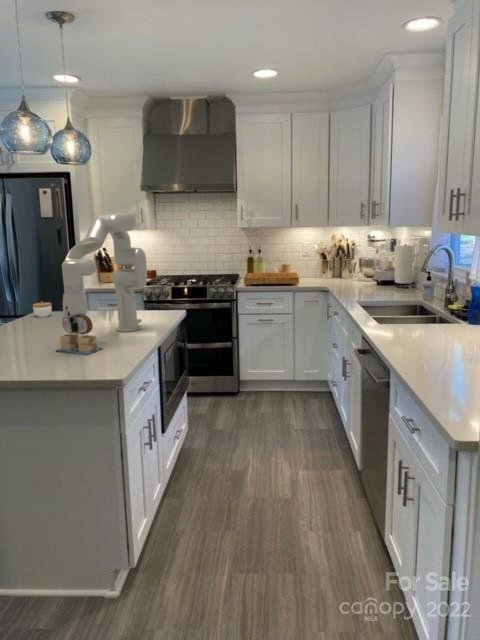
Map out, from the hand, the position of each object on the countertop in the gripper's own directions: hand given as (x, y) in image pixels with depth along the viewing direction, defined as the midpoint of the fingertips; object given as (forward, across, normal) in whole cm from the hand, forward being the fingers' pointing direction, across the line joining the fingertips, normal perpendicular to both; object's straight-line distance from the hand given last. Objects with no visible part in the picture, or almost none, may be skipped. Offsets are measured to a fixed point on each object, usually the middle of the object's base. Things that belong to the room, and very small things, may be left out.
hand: (77, 330), depth 220 cm
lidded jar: (+10, -56, -77) cm, 96 cm away
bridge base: (+9, 0, 0) cm, 9 cm away
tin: (+2, 0, 0) cm, 2 cm away
